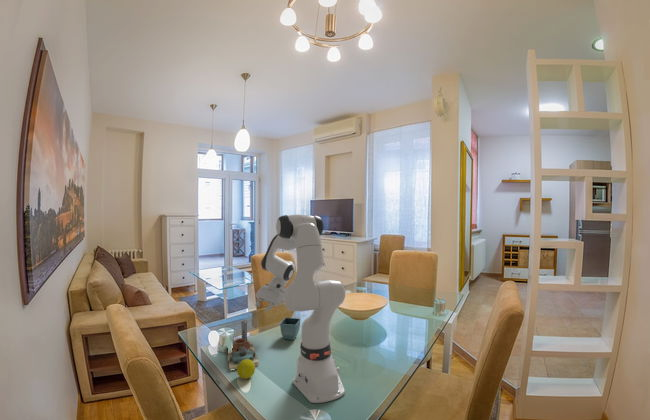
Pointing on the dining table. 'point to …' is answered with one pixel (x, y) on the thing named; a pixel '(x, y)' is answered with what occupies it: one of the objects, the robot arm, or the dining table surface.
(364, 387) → the dining table surface
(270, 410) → the dining table surface
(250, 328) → the dining table surface
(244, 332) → the axle pin
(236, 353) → the gear board
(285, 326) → the flower pot
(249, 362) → the tennis ball
